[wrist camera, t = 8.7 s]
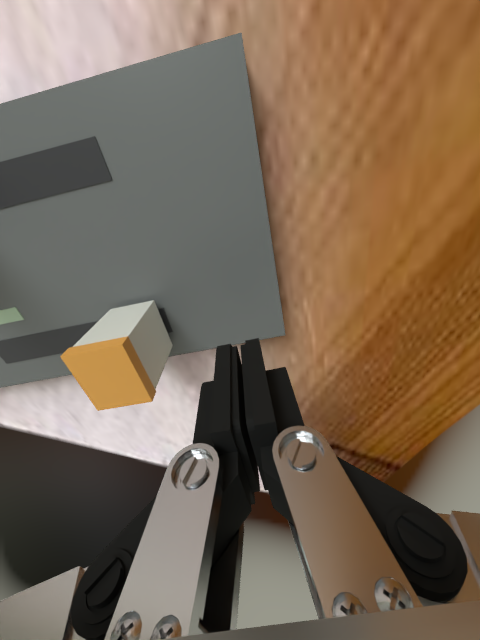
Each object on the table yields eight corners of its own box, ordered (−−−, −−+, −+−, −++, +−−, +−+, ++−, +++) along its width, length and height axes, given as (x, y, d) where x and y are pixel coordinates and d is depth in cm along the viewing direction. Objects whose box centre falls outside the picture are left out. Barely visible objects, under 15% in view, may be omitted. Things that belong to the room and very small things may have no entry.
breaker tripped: (154, 299, 13) (122, 344, 9) (173, 345, 15) (152, 401, 11) (109, 308, 13) (60, 356, 10) (132, 353, 15) (97, 410, 11)
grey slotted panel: (240, 52, 10) (241, 32, 9) (281, 323, 16) (285, 335, 15) (-235, 189, 12) (-294, 190, 11) (-40, 383, 18) (-63, 399, 17)
